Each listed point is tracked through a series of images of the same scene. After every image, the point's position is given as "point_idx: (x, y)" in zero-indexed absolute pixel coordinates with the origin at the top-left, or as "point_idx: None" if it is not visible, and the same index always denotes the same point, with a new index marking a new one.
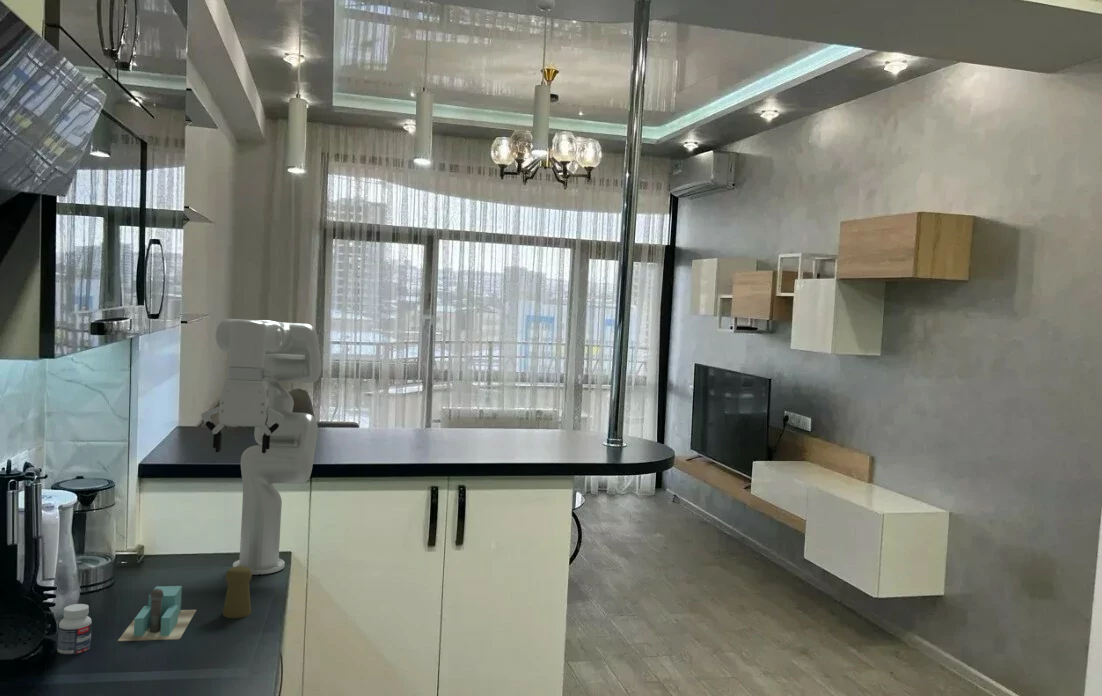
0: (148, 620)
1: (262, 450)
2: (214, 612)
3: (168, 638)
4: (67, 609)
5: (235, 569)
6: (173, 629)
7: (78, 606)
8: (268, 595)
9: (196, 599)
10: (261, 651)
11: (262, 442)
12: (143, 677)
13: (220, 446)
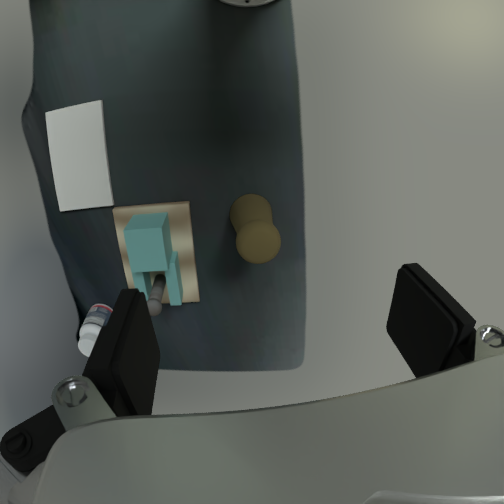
0: (147, 276)
1: (393, 337)
2: (212, 188)
3: (185, 300)
4: (85, 353)
5: (254, 256)
6: (181, 274)
7: (89, 346)
8: (285, 111)
9: (169, 129)
10: (295, 310)
11: (410, 367)
12: (192, 358)
13: (146, 334)
